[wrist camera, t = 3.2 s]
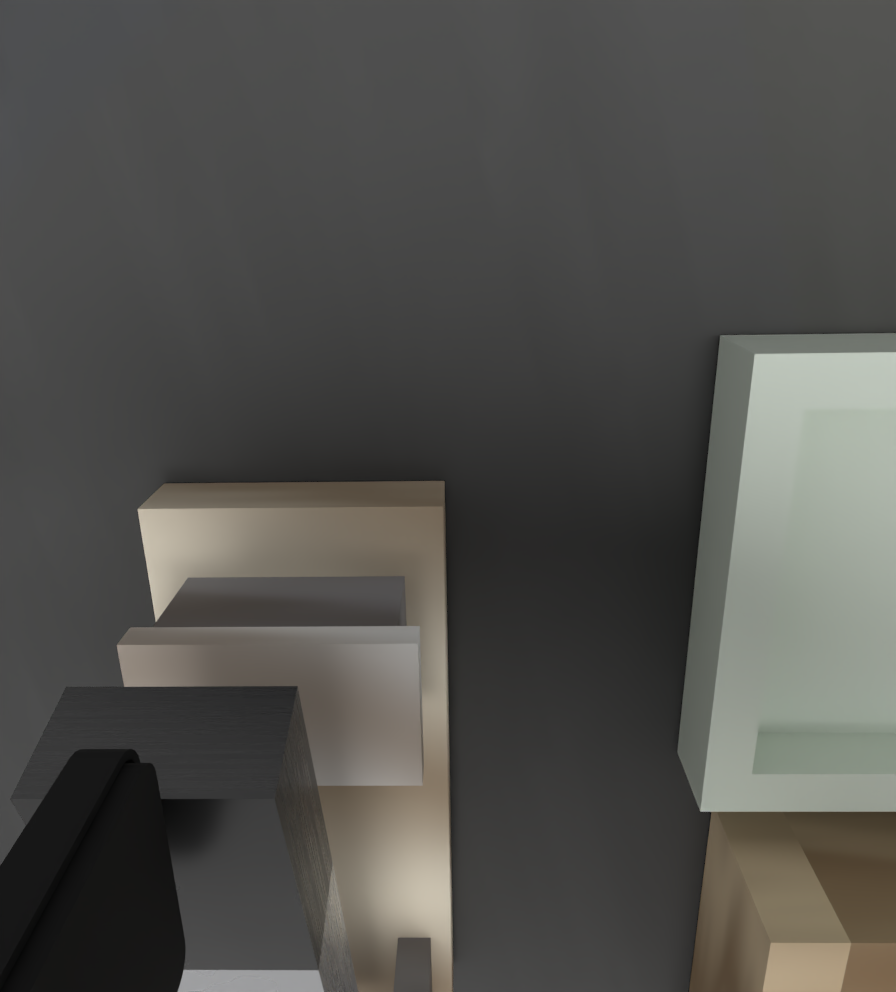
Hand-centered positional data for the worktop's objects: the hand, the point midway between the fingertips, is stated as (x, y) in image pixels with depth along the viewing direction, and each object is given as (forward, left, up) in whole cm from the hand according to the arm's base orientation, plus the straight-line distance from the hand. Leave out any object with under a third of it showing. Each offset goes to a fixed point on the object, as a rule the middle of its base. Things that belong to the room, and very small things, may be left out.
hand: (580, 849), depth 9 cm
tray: (-1, -9, -9) cm, 13 cm away
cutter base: (-6, +5, -9) cm, 12 cm away
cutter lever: (-5, +5, -3) cm, 8 cm away
